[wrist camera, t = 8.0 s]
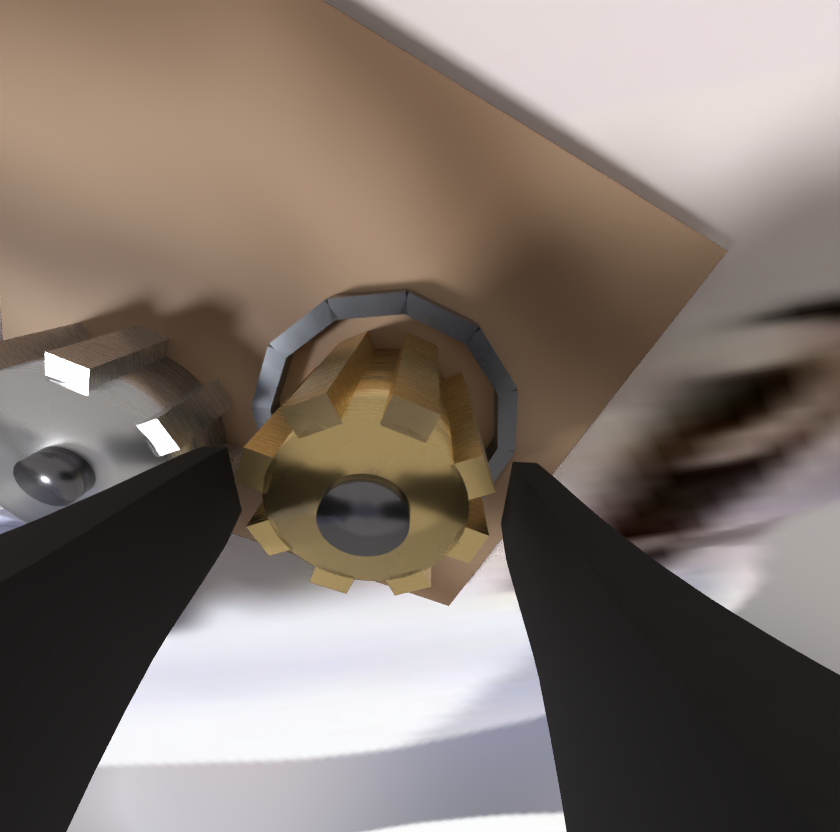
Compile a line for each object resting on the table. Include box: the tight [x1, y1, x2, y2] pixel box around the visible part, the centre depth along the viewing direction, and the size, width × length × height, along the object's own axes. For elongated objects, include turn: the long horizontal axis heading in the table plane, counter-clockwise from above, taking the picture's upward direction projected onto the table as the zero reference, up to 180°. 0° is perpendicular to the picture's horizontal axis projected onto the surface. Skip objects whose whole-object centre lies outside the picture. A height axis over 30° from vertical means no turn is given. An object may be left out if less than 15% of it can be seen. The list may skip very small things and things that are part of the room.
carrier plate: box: [0, 0, 727, 606], centre depth 12 cm, size 17×19×1 cm
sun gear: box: [0, 322, 243, 523], centre depth 11 cm, size 7×7×4 cm
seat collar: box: [251, 288, 518, 498], centre depth 12 cm, size 9×9×1 cm
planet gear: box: [235, 331, 496, 595], centre depth 10 cm, size 6×6×5 cm
